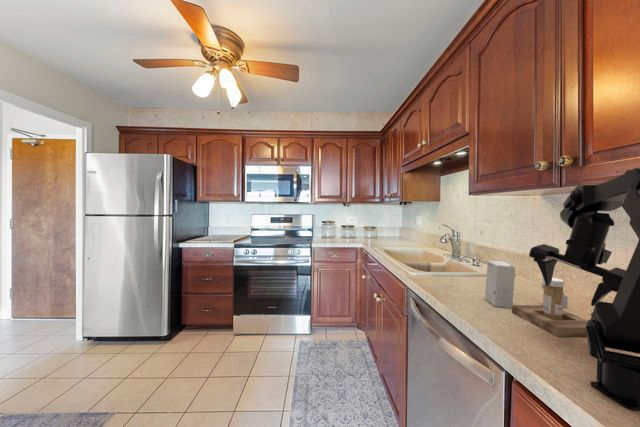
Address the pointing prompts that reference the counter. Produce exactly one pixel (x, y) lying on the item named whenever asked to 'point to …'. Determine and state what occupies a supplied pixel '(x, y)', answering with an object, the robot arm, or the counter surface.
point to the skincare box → (500, 284)
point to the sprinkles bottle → (553, 299)
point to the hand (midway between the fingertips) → (569, 294)
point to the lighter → (563, 298)
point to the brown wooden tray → (552, 321)
